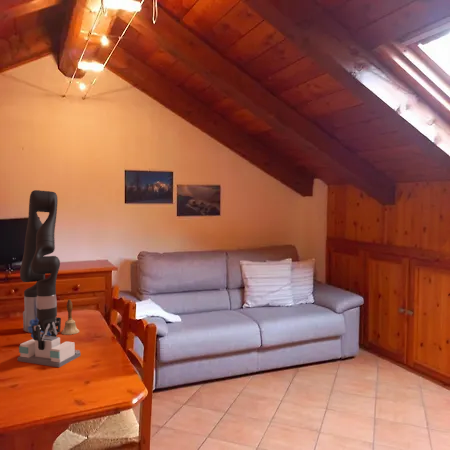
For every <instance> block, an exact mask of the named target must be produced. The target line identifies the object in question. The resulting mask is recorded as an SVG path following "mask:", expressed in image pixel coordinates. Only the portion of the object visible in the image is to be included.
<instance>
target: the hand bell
mask: <svg viewBox="0 0 450 450" xmlns="http://www.w3.org/2000/svg"><path fill="white" fill-rule="evenodd" d="M66 311H67V320H65V323H64V328H63V330H61V331H60V333H61V335H64V336H70V335H72V334H73V335H76V334H78V333H80V329H78V328H77V325H76V321H75V320H74V319H73V315H72V312H73V302H72V299H67V302H66Z"/></svg>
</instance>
